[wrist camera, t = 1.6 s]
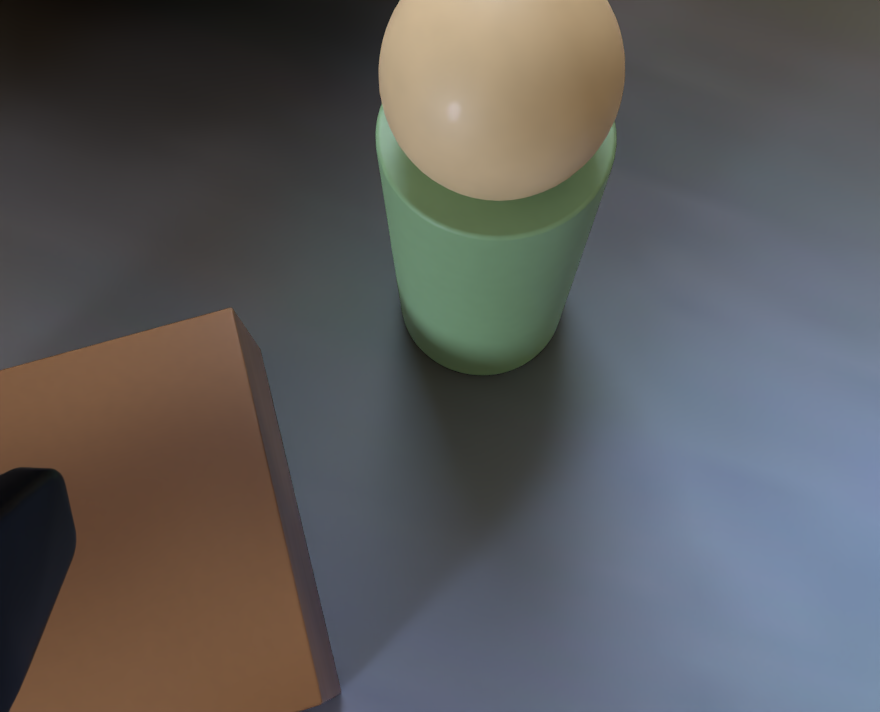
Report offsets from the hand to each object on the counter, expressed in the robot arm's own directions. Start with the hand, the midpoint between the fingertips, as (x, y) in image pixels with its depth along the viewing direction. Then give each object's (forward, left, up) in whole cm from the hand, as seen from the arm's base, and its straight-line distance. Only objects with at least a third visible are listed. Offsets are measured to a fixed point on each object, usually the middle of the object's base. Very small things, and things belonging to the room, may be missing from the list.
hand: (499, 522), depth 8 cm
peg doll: (+7, -3, -12) cm, 15 cm away
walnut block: (+4, +8, -12) cm, 15 cm away
